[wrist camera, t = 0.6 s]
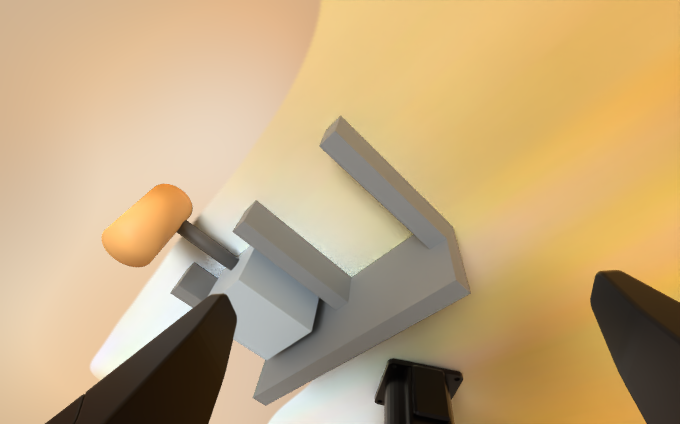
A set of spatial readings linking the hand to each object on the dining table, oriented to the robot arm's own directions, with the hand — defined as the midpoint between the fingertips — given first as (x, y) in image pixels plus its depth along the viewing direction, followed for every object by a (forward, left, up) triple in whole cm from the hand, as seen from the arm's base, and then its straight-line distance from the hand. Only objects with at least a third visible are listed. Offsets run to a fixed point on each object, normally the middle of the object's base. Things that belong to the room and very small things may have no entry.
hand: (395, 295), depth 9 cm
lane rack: (-10, +4, -13) cm, 17 cm away
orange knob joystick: (-11, +9, -13) cm, 20 cm away
